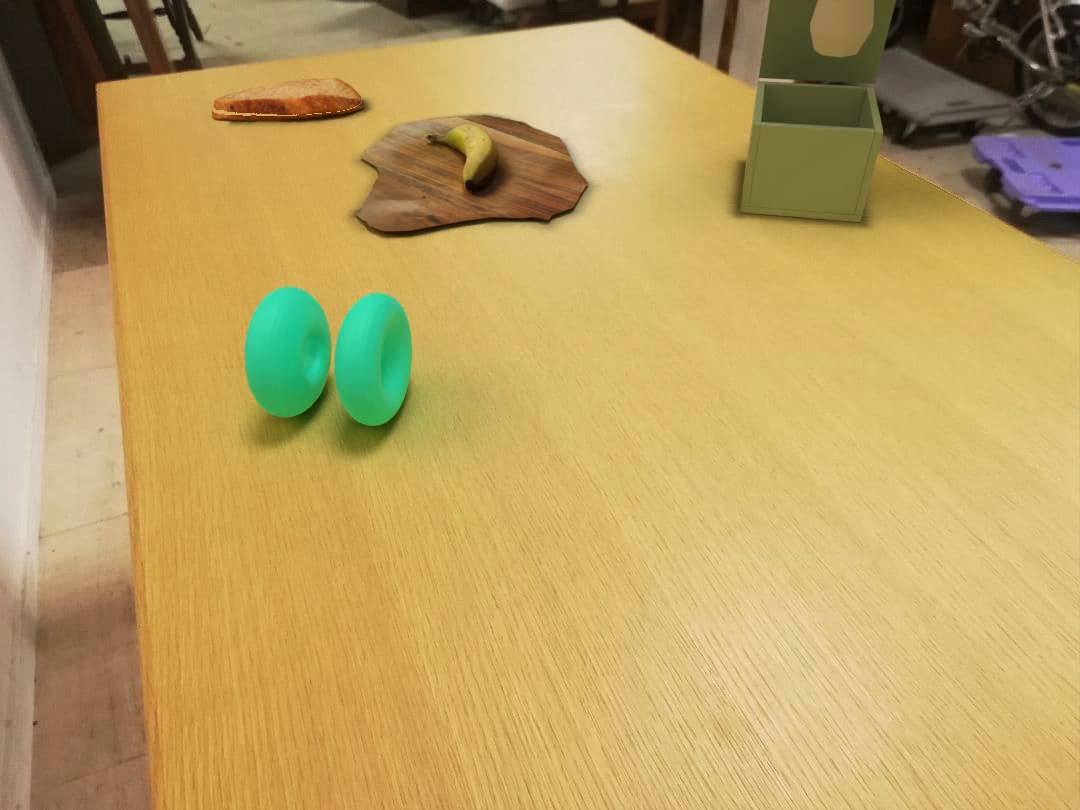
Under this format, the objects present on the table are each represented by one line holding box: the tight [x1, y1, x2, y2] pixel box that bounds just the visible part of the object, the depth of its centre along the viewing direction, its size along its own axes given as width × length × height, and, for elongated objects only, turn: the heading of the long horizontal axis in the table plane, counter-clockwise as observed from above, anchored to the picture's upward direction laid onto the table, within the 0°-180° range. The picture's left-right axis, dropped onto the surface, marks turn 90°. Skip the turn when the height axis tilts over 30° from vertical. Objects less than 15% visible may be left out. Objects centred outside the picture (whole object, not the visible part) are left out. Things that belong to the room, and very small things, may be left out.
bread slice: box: [211, 77, 365, 122], centre depth 114 cm, size 18×18×4 cm
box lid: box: [758, 0, 897, 85], centre depth 85 cm, size 14×13×5 cm
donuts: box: [244, 286, 413, 427], centre depth 59 cm, size 10×10×10 cm
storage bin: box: [739, 80, 884, 223], centre depth 87 cm, size 14×13×10 cm
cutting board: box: [355, 114, 590, 232], centre depth 96 cm, size 35×27×4 cm
